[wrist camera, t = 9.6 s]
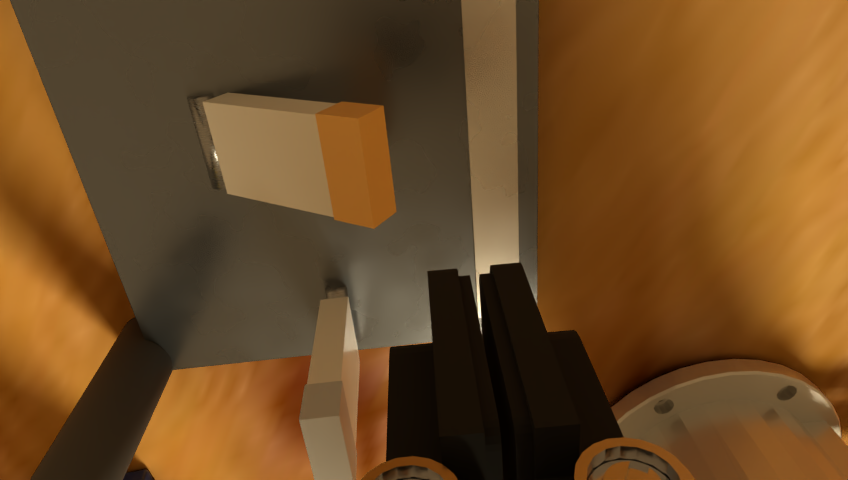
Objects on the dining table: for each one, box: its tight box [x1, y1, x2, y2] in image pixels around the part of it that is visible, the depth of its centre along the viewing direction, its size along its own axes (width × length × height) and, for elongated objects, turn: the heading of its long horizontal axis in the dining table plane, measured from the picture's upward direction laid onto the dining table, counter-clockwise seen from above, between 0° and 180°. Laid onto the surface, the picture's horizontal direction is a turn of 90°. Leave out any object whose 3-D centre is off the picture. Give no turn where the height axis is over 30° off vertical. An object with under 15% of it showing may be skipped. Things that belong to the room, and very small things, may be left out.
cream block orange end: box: [203, 93, 396, 229], centre depth 17 cm, size 1×3×6 cm
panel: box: [10, 0, 539, 370], centre depth 20 cm, size 15×18×2 cm
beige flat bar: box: [299, 297, 360, 480], centre depth 20 cm, size 1×3×6 cm, turn 5°
